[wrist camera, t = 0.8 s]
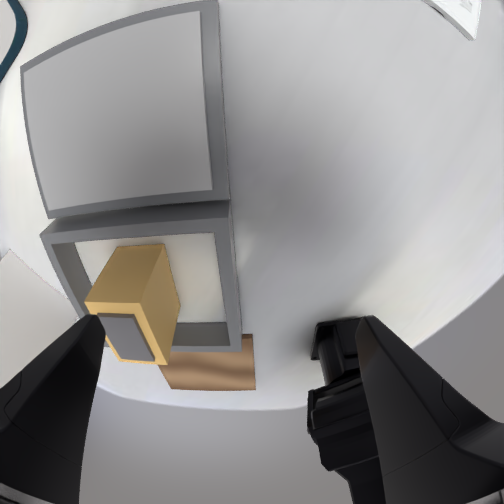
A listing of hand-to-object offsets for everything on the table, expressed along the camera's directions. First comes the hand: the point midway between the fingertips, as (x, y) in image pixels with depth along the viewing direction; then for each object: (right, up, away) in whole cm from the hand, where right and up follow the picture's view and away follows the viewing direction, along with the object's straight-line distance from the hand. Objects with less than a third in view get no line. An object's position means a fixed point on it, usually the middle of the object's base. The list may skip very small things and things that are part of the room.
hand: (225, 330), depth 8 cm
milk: (-27, -4, +18) cm, 32 cm away
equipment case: (-9, +6, +11) cm, 15 cm away
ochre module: (-8, 0, +15) cm, 17 cm away
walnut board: (-5, -11, +23) cm, 26 cm away
